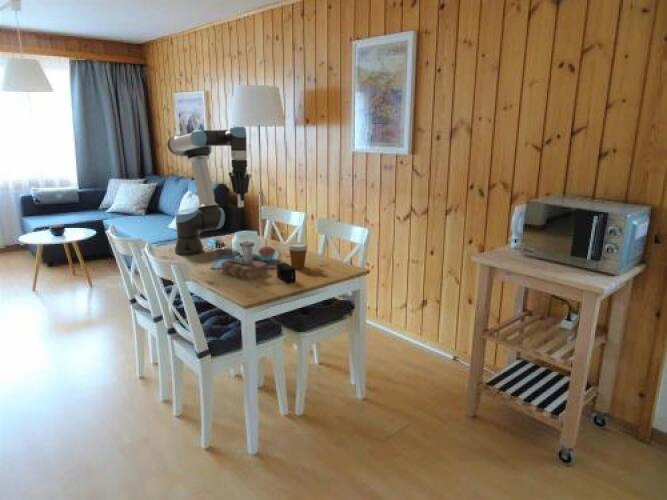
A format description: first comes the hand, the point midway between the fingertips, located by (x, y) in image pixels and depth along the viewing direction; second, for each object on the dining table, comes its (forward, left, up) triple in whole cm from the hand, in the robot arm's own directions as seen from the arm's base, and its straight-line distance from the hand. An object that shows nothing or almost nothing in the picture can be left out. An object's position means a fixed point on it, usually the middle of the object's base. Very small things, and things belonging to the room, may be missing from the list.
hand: (240, 206), depth 230 cm
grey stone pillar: (+14, -12, -29) cm, 35 cm away
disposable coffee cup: (+28, +10, -30) cm, 42 cm away
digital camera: (+34, -9, -30) cm, 46 cm away
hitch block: (+12, -12, -29) cm, 34 cm away
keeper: (+10, -12, -24) cm, 29 cm away
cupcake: (+7, +11, -30) cm, 32 cm away
